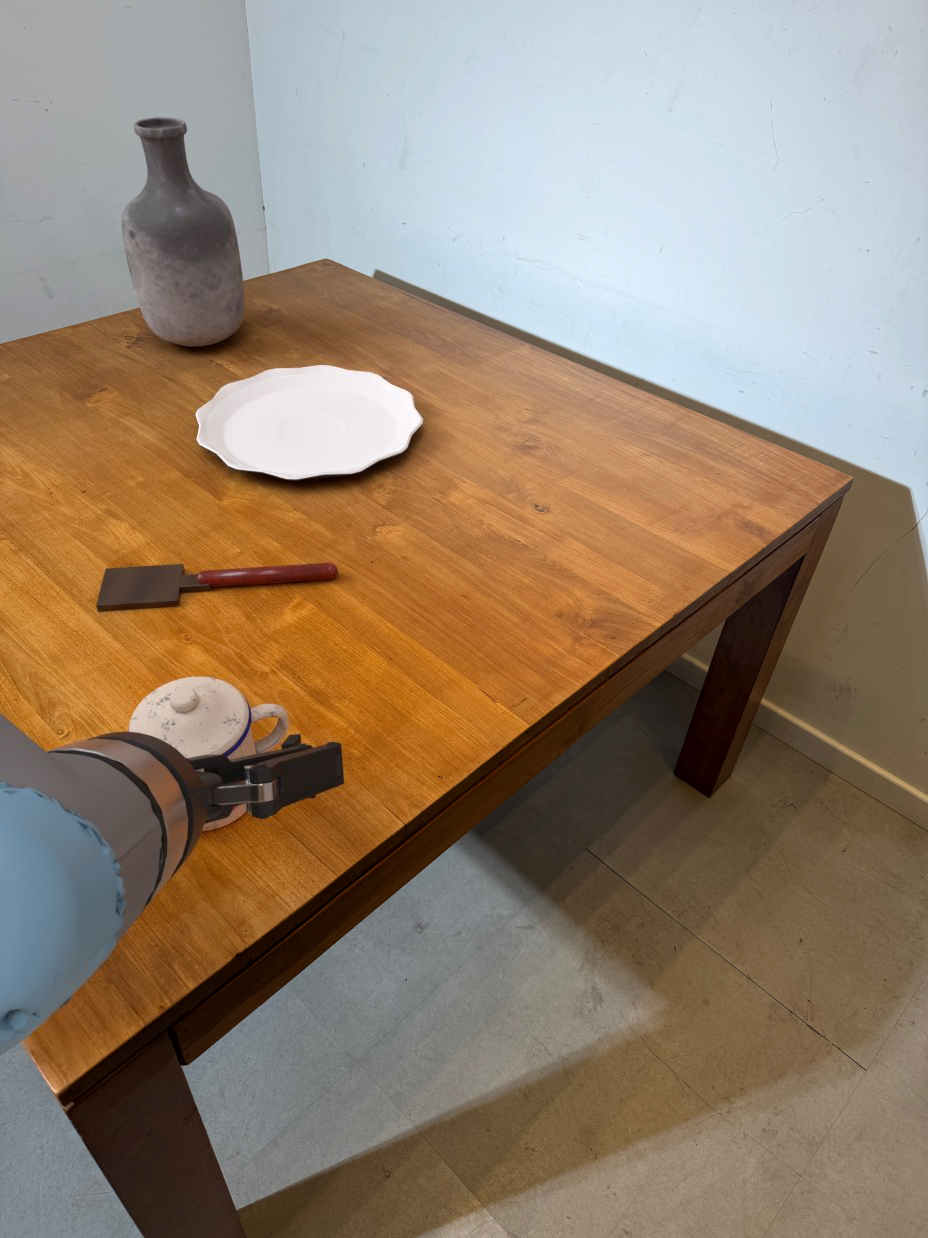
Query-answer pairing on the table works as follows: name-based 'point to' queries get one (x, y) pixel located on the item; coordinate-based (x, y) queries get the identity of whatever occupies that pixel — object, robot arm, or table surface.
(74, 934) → the robot arm
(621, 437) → the table surface
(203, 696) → the teacup with lid
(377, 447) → the plate
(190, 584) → the spatula
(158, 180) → the vase
